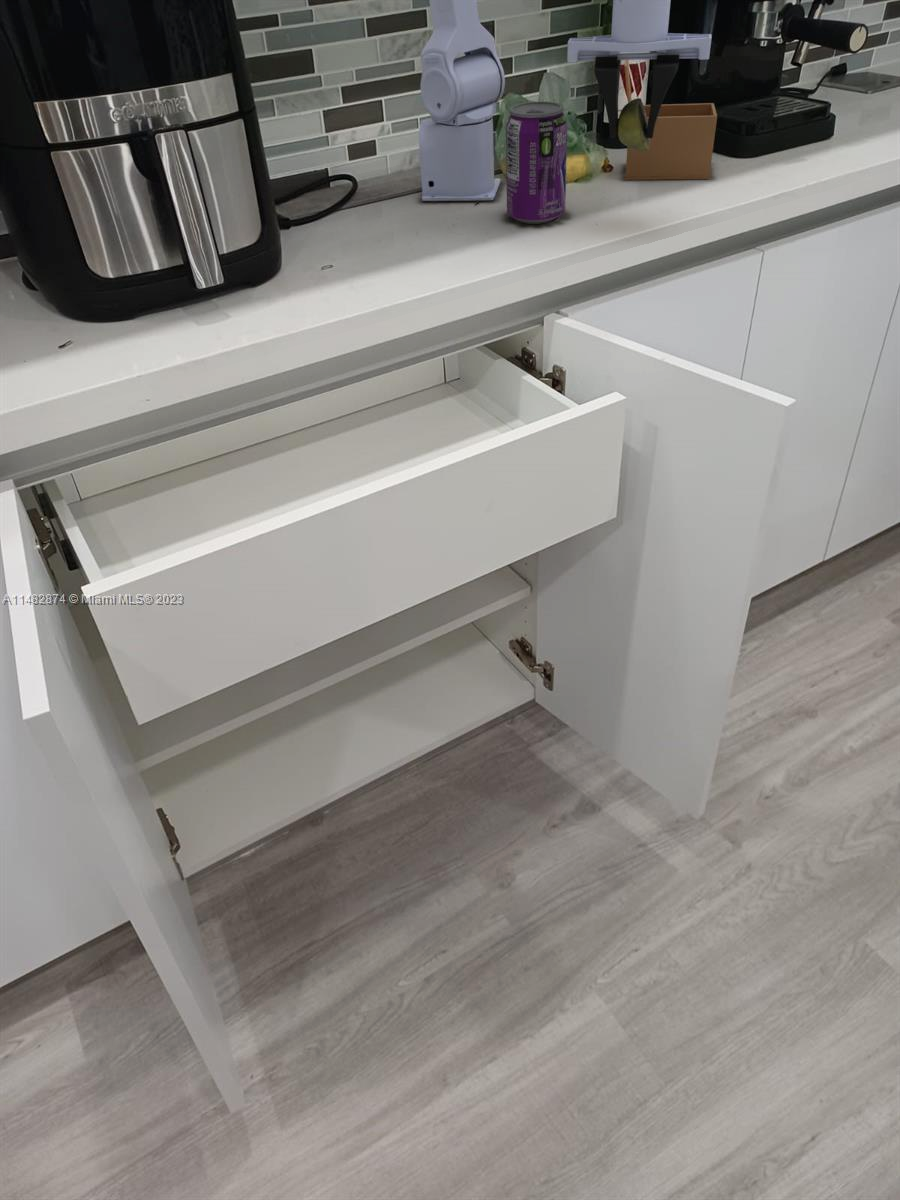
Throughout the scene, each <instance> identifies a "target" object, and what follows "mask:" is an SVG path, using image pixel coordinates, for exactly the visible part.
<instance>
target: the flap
mask: <svg viewBox="0 0 900 1200" xmlns="http://www.w3.org/2000/svg"><path fill="white" fill-rule="evenodd" d="M629 65H630V64H629V60H624V75H625V87H626V97H627V98H626V99H627V104H628V103H629V102H630V101H632V100H633V99H632V90H631V89H632V88H631V77H630V66H629Z"/></svg>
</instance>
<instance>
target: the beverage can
mask: <svg viewBox="0 0 900 1200" xmlns="http://www.w3.org/2000/svg"><path fill="white" fill-rule="evenodd" d="M564 110H565V106H564V104H562V103H560V102H556V101H550V100H549V101H548V100H545V101H544V100H540V101H539V100H538V101H537V100H536V101H527V102H521V103H518V104H514V105H512V106H510V108H509V114H510V115H509V116H508V119H507V123H506V124H505V172H506V173H505V175H506V176H505V177H506V180H505V181H506V182H505V183H506V184H505V185H506V214H507V216H508V217H510V218H512V219H514V220H516V221H518V222H519V223H523V224H527V225H540V224H546V223H549V222H552V221H554V220H556V218H559V217H560V216H562V215H563V214H564V213H565V212H566V198H567V197H566V195H567V194H566V193H567V160H568V159H567V155H568V121H567V118H566V117H565V114H564Z"/></svg>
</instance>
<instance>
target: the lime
mask: <svg viewBox="0 0 900 1200" xmlns="http://www.w3.org/2000/svg"><path fill="white" fill-rule="evenodd" d="M644 105H645V104H644V103H643V100H642V98H640V97H639V98H634V99H632V101H630V102H629V103H628V102H627V103H626V104H625V105H624V106H623V107H622V109H621V111H620V113H619V115H618V122H617V136H618V140H619V141H620V142H621V144H622V145H624V146H626V147H627V146H628V147H629V148H631V149H633V150H636V151H645V150H648V149H649V144H650V140H649V138H646V135H647V125H648V120H647V116H646V112H645V108H644Z"/></svg>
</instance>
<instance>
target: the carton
mask: <svg viewBox="0 0 900 1200" xmlns="http://www.w3.org/2000/svg"><path fill="white" fill-rule="evenodd" d="M643 105H644V108H645V112H646V116H647V120H648V119H649V113H650V106H651V104H643ZM717 121H718V113H717V110H716V106H715V103H714V102H707V103H705V102H703V103H671V104H667V103H666V104H662V105H661V107H660V110H659V113H658V116H657V120H656V123H655V127H654V134H653V138H649V140H650V144H649V149H648V150H645V151H636V150H633V149H631V148H629V147H628V146H626V147H627V148H626V161H625V164H626V165H625V178H624V179H625V181H644V180H645V181H649V180H651V181H653V180H656V181H657V180H659V181H660V180H661V181H662V180H710V174H711V169H712V168H711V167H712V158H713V152H714V144H715V135H716V130H717V129H716V128H717V123H718V122H717Z"/></svg>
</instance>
